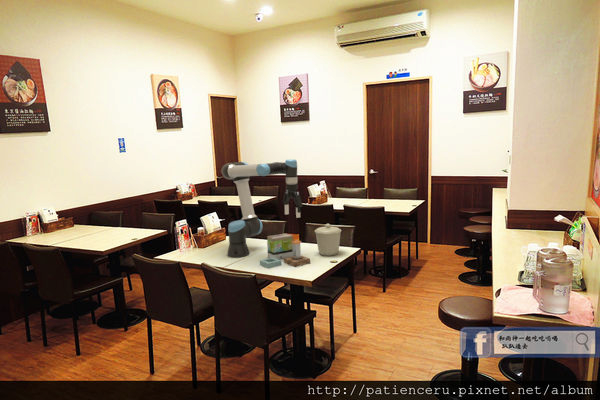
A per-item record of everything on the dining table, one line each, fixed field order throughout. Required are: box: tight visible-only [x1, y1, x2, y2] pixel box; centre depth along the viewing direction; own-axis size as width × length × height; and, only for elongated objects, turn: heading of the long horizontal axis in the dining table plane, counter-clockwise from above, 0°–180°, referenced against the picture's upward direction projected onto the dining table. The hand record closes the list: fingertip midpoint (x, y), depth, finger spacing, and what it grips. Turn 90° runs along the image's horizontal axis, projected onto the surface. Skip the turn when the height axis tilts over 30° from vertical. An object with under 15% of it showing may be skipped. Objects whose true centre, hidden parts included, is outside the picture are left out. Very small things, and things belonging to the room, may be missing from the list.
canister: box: [314, 223, 342, 257], centre depth 273 cm, size 18×18×21 cm
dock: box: [283, 255, 311, 268], centre depth 256 cm, size 12×12×3 cm
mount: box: [259, 257, 283, 269], centre depth 254 cm, size 10×10×3 cm
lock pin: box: [291, 239, 302, 260], centre depth 255 cm, size 5×5×14 cm
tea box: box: [266, 233, 294, 260], centre depth 270 cm, size 15×10×15 cm, turn 122°
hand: (292, 215), depth 262 cm, fingers open, 13 cm apart
